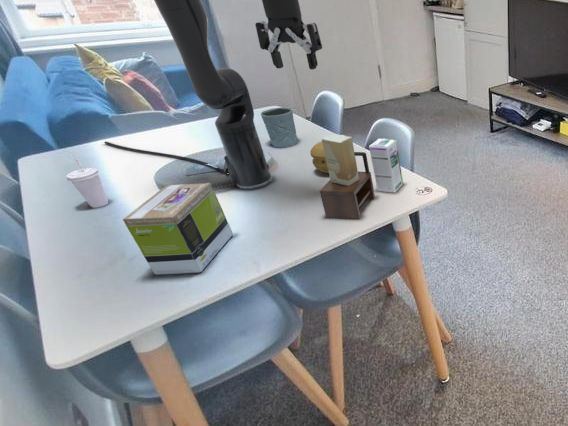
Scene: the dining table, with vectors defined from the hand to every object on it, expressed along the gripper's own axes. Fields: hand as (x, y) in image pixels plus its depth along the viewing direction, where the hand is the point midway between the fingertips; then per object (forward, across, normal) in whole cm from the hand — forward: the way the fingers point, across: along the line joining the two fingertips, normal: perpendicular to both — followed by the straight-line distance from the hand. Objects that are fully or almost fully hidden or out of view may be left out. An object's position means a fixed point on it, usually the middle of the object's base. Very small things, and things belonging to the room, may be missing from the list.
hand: (296, 68), depth 105 cm
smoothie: (+36, +60, +11) cm, 71 cm away
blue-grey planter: (+36, +33, -37) cm, 61 cm away
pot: (+36, +5, -16) cm, 39 cm away
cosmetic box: (+27, -10, +7) cm, 30 cm away
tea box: (+36, +16, +31) cm, 50 cm away
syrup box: (+35, -17, -5) cm, 40 cm away
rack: (+35, -10, +7) cm, 37 cm away
